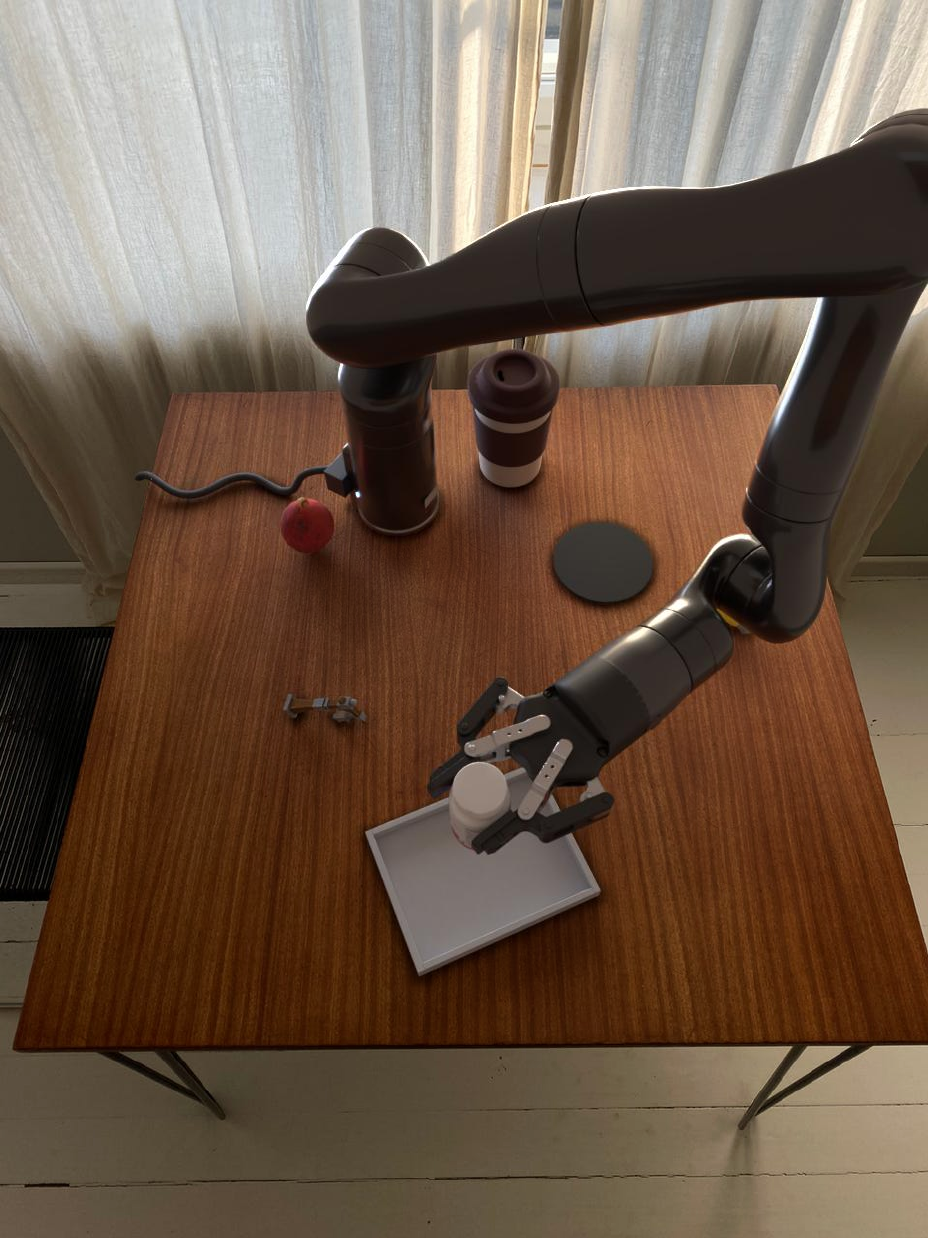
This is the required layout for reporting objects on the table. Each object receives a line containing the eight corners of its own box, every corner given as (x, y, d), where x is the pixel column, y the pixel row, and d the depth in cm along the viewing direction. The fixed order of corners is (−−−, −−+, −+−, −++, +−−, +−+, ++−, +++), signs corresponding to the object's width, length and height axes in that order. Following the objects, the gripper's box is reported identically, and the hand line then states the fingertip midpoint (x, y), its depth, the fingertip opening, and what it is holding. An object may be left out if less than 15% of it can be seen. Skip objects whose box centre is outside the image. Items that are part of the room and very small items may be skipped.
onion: (330, 570, 97) (318, 526, 90) (280, 562, 97) (265, 517, 91) (344, 530, 100) (334, 483, 93) (296, 522, 100) (282, 476, 94)
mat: (535, 576, 96) (535, 574, 96) (581, 509, 101) (582, 507, 101) (625, 620, 93) (625, 618, 92) (668, 549, 98) (669, 547, 97)
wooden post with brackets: (372, 728, 85) (349, 706, 82) (306, 729, 89) (281, 708, 86) (377, 712, 86) (354, 689, 83) (311, 714, 90) (287, 692, 87)
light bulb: (729, 575, 91) (708, 595, 90) (769, 617, 90) (749, 638, 89) (713, 586, 94) (693, 606, 93) (753, 627, 93) (732, 647, 92)
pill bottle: (448, 798, 72) (445, 758, 65) (505, 793, 72) (509, 753, 65) (452, 855, 69) (449, 821, 62) (512, 850, 70) (516, 815, 62)
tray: (419, 976, 74) (418, 973, 73) (366, 837, 81) (364, 831, 79) (598, 895, 77) (601, 890, 76) (534, 767, 84) (535, 761, 83)
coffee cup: (563, 450, 106) (575, 352, 93) (532, 508, 101) (540, 413, 88) (489, 426, 108) (490, 327, 96) (455, 482, 103) (452, 386, 91)
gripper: (564, 608, 70) (391, 729, 65) (694, 738, 64) (515, 883, 59) (557, 654, 76) (399, 768, 71) (674, 776, 70) (511, 910, 65)
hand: (453, 819), depth 65 cm, fingers closed on pill bottle, 4 cm apart
